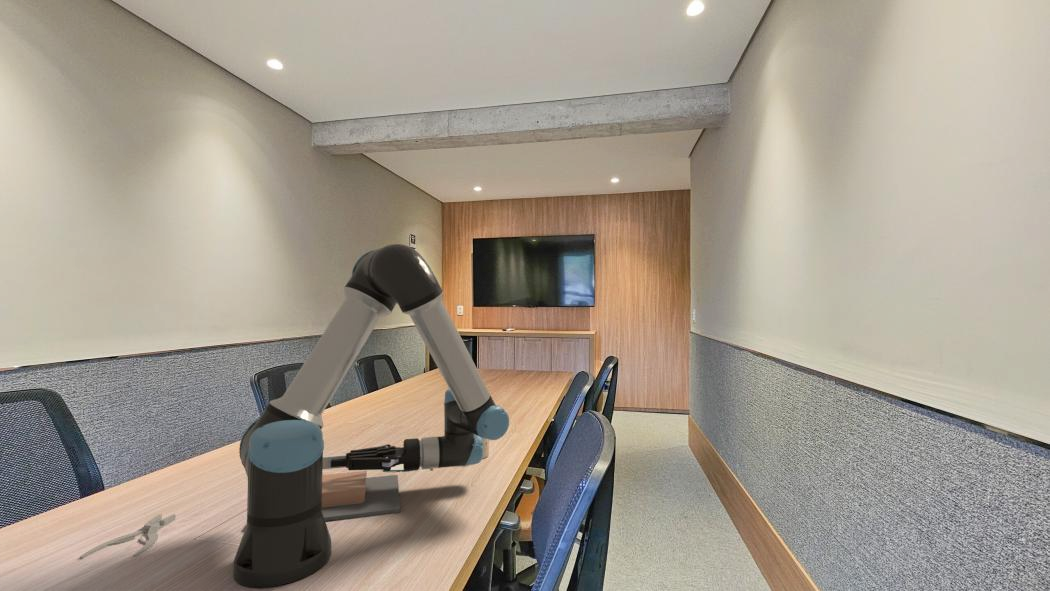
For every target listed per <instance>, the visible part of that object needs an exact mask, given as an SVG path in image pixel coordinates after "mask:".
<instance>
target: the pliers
mask: <svg viewBox="0 0 1050 591" xmlns="http://www.w3.org/2000/svg"><path fill="white" fill-rule="evenodd" d="M175 521H176V514H175V513H173V514H171V515H168V516H167V517H164V518H163V516H162V513H161V514H157V515H156V516H154V517H152V518H151V519H150V520H148V521H146V522H145V523H144V524H143V525H144V526H143V528H142V529H140V530H137V531H135V532H132V533H128V534H125V535H121V536H118V537H115V538H113V539H110V540H109V541H105V542H103V543H101V544H99V545H97V546H94V547H93V548H91V549H90V550H89V549H88V550H87V551H86V552H85V553H83V554H82V555H80V556H79V559H80V560H83V559H85V558H87V557H89V556H91V555H94V553H97V552H99V551H101V550H103V549H105V548H107V547H110V546H115V545H121V544H124V543H128V542H130V541H133V540H136V537H138V536H140V535H142V534H145V533H147V535H146V536H147V540H144V539H143V537H142V536H140V537H139V542H140V543H141V544H143V546H142V547H141V548H140V549H139V550H137V551H136V552H135V553H134V554H132V557H133V558H136V557H138V556H139V555H142V554H143V553H145V552H147V550H149V549H150V548H152V547H153V546H154V545H155V544H156V543H157V541H158V540H159V534H158V531H159V530H161V529H162V528H165V527H166V526H168V525H170V524H171V523H173V522H175Z"/></svg>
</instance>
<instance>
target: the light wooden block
mask: <svg viewBox="0 0 1050 591" xmlns="http://www.w3.org/2000/svg"><path fill="white" fill-rule="evenodd" d="M367 472H368V470H358V471H352V472H351V471H349V472H341V473H339V472H338V473H330V474H322V508H324V507H333V506H341V505H350V504H358V503H363V502H365V494H366V484H367V478H368V473H367Z"/></svg>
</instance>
